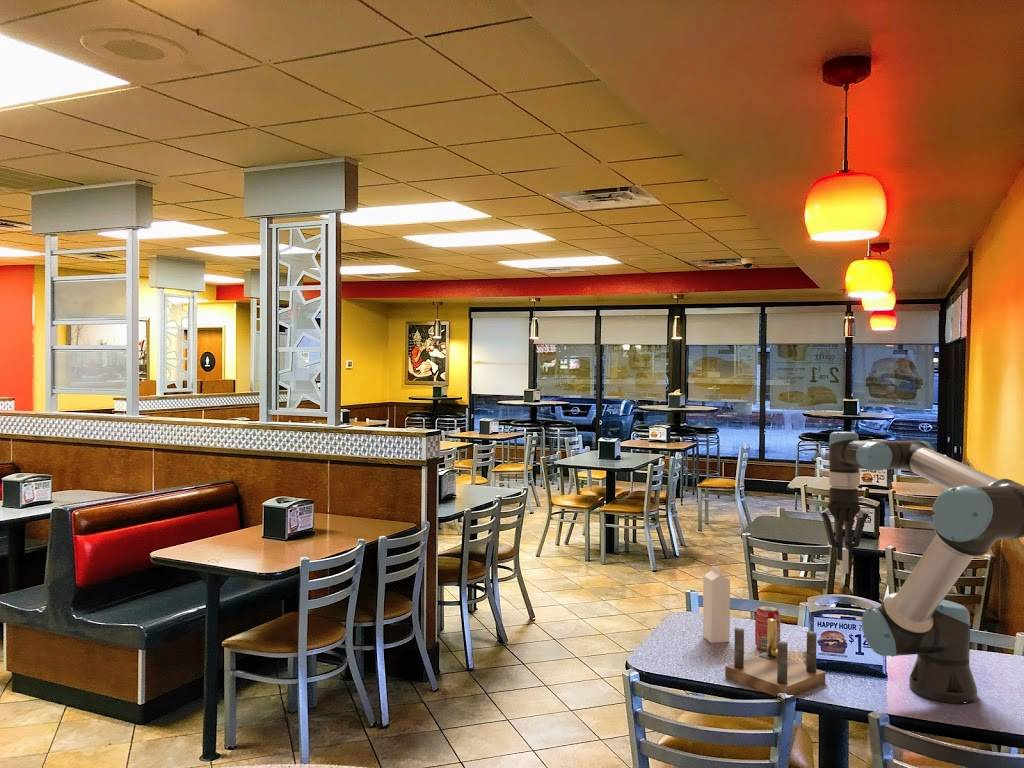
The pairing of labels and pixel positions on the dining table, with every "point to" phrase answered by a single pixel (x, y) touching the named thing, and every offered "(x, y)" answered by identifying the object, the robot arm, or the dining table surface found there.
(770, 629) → the hinged leg
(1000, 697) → the dining table surface
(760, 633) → the soda can
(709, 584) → the milk
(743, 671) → the stool seat
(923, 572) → the robot arm
